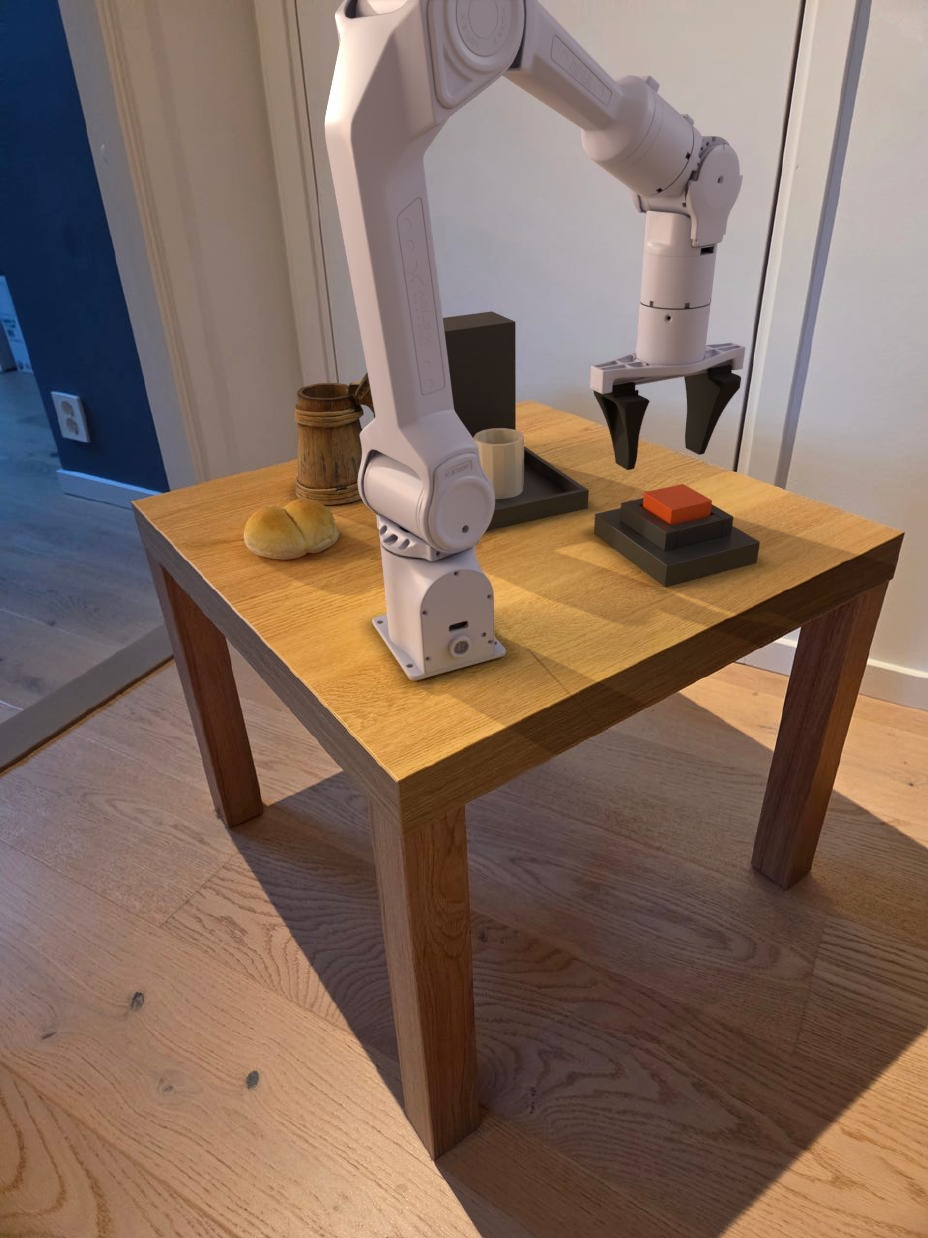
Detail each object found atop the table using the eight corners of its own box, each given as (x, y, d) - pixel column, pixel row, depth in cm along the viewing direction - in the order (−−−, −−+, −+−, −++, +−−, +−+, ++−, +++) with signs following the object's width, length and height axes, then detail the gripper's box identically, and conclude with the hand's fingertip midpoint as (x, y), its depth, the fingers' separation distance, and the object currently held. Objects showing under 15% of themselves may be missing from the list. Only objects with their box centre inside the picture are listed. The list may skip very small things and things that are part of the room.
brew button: (710, 517, 78) (712, 500, 77) (669, 527, 76) (671, 509, 75) (681, 500, 81) (683, 483, 80) (642, 509, 80) (643, 492, 79)
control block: (756, 563, 78) (763, 523, 75) (664, 588, 74) (669, 547, 72) (678, 513, 87) (682, 477, 85) (593, 534, 84) (595, 496, 82)
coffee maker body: (515, 460, 101) (515, 321, 92) (421, 479, 97) (412, 335, 89) (494, 445, 106) (492, 311, 97) (403, 462, 102) (393, 324, 93)
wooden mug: (407, 508, 90) (395, 334, 81) (285, 504, 92) (258, 334, 83) (422, 476, 98) (412, 313, 88) (309, 473, 100) (287, 313, 90)
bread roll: (238, 537, 86) (231, 500, 84) (324, 518, 89) (319, 483, 87) (257, 571, 79) (249, 532, 77) (348, 550, 82) (344, 512, 80)
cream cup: (532, 493, 91) (532, 439, 88) (487, 503, 89) (486, 448, 86) (510, 476, 95) (510, 424, 92) (467, 485, 93) (465, 433, 90)
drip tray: (588, 508, 89) (588, 489, 88) (472, 534, 84) (472, 515, 83) (521, 461, 101) (522, 444, 100) (417, 481, 96) (416, 464, 95)
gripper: (715, 284, 76) (698, 431, 83) (573, 303, 71) (568, 458, 78) (770, 298, 70) (746, 454, 77) (620, 320, 65) (610, 484, 73)
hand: (660, 458), depth 77 cm, fingers open, 7 cm apart
